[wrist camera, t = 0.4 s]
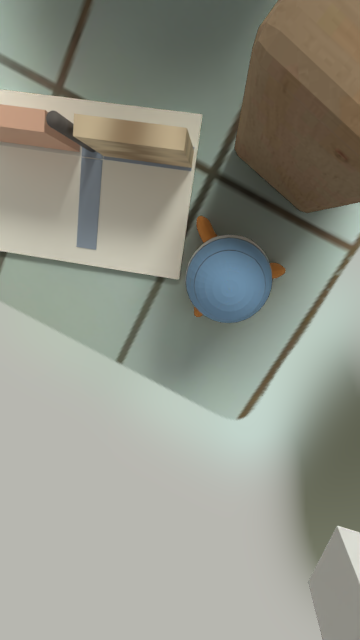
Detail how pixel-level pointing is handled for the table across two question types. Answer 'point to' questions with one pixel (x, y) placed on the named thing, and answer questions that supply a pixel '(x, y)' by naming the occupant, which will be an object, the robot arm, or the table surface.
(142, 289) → the table surface
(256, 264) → the toy rocket
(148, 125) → the fixed fence panel
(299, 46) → the wooden block
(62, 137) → the hinged fence panel
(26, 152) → the card
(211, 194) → the table surface
